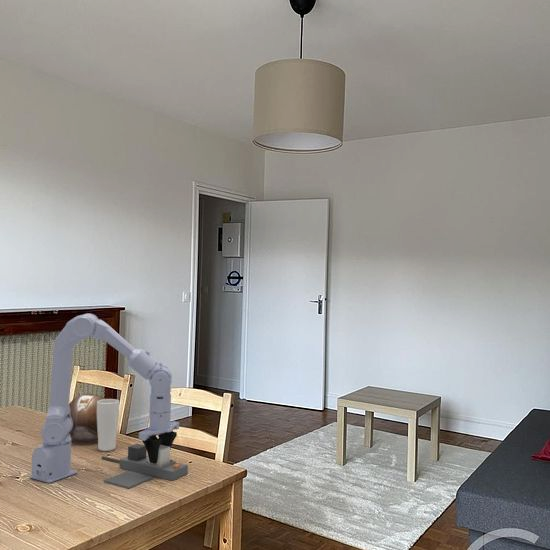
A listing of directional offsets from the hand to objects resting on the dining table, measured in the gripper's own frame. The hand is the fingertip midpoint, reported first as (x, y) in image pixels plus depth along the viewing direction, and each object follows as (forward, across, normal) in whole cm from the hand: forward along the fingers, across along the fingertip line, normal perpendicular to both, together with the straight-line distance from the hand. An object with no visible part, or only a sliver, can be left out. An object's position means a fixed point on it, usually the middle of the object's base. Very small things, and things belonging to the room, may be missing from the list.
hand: (158, 460), depth 154 cm
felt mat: (+3, -9, +2) cm, 10 cm away
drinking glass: (+3, +8, +28) cm, 29 cm away
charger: (+1, 0, 0) cm, 1 cm away
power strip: (+3, 0, +7) cm, 8 cm away
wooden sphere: (+3, +12, +40) cm, 42 cm away
